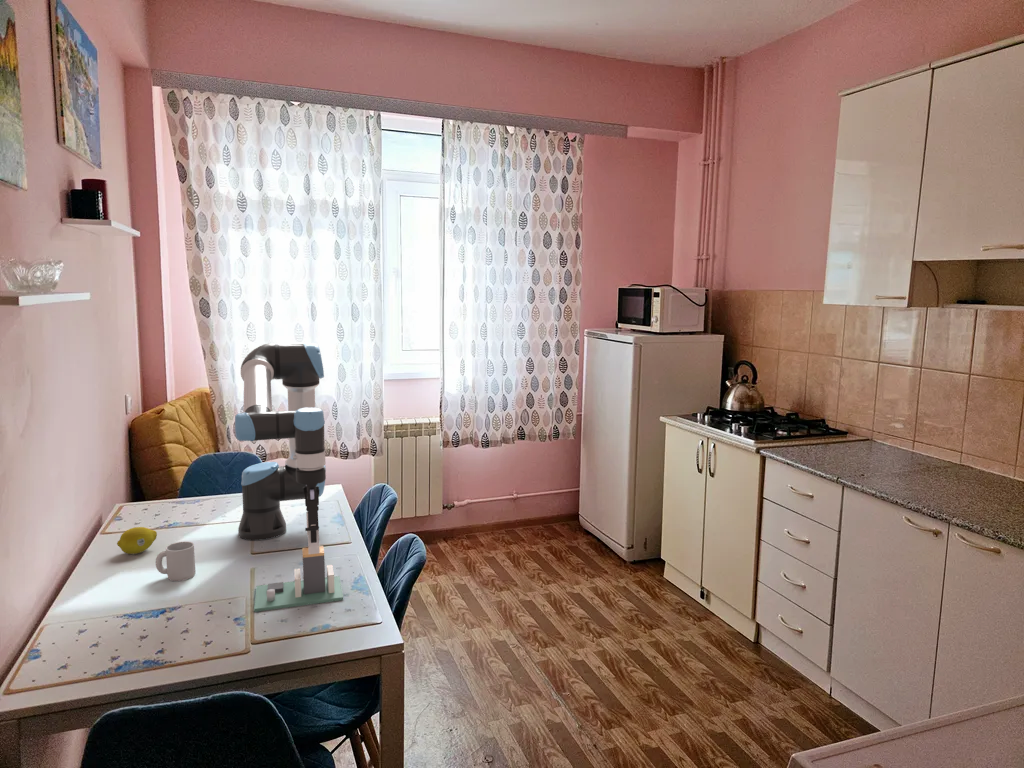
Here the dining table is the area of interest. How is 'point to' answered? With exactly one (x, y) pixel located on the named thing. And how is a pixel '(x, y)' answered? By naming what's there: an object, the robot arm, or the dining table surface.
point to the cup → (178, 561)
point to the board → (296, 593)
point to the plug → (313, 571)
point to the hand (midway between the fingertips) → (313, 543)
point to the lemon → (136, 540)
